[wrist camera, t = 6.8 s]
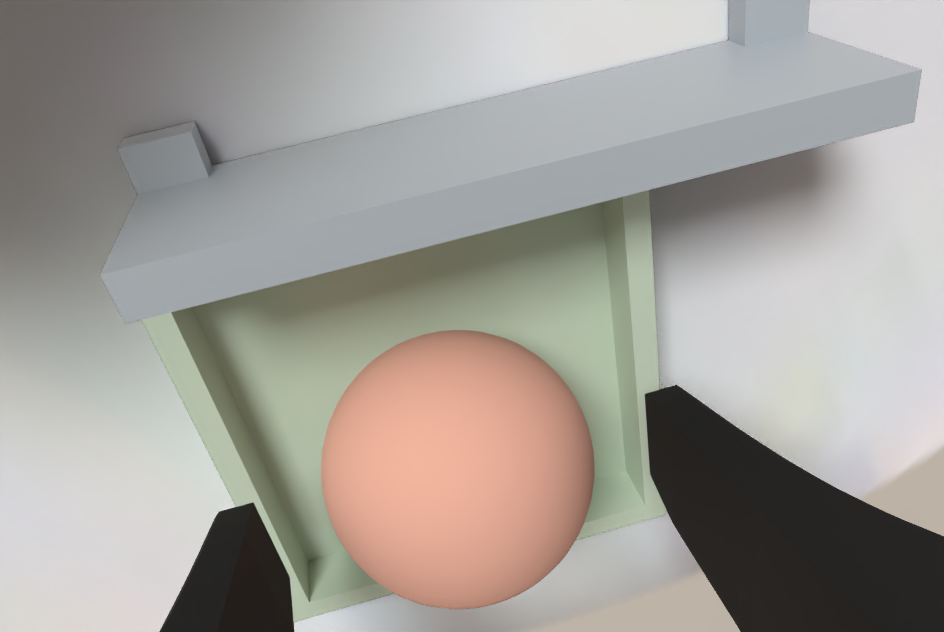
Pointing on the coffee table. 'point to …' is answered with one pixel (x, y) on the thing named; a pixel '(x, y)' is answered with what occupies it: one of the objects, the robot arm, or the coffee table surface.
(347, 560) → the tray
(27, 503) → the coffee table surface
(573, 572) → the coffee table surface
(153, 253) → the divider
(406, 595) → the ball
